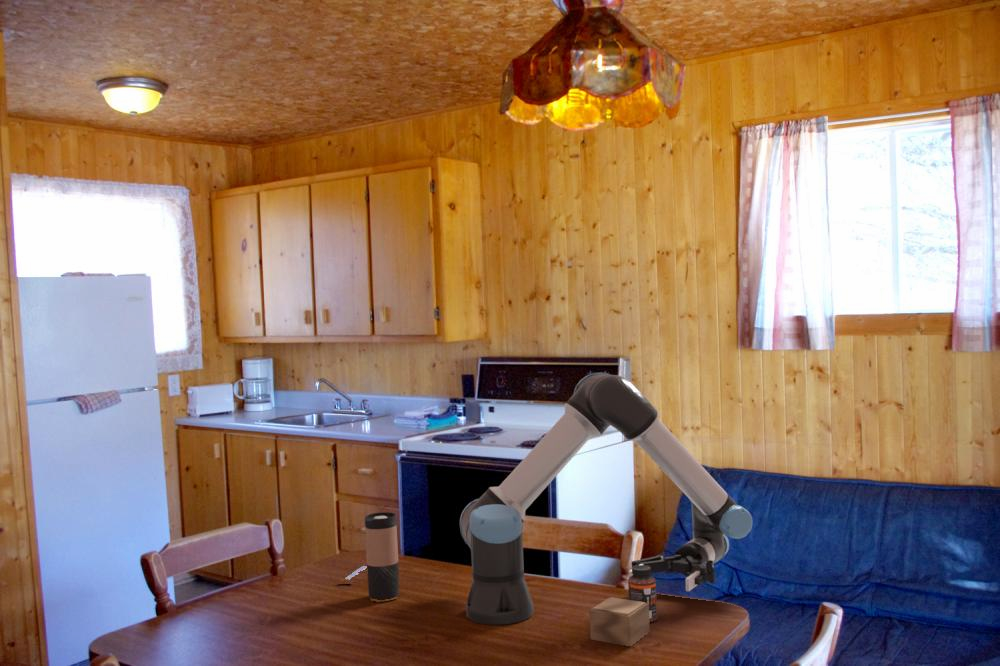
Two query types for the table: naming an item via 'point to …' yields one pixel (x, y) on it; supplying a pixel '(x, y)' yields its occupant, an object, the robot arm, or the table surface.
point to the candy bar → (355, 572)
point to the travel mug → (382, 555)
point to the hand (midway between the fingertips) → (658, 581)
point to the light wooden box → (619, 621)
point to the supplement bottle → (643, 588)
